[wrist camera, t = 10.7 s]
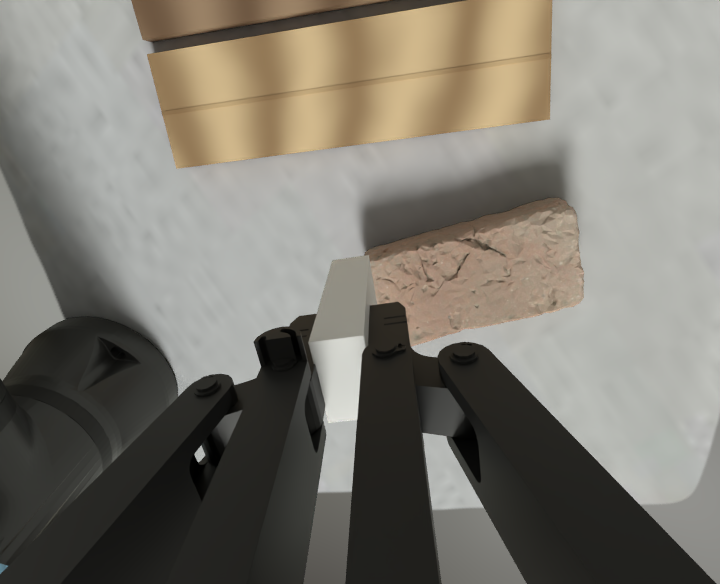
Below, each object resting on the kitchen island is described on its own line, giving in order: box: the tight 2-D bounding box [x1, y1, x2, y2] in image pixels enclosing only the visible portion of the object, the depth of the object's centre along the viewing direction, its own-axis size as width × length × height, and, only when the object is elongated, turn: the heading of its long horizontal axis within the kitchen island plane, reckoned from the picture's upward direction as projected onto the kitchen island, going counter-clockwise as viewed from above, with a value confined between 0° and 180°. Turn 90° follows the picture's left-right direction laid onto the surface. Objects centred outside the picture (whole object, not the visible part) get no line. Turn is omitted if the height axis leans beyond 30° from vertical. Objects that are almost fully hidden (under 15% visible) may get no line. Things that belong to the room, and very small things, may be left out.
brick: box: [364, 198, 584, 346], centre depth 35 cm, size 17×8×5 cm, turn 108°
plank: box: [147, 0, 552, 169], centre depth 31 cm, size 28×8×1 cm, turn 98°
